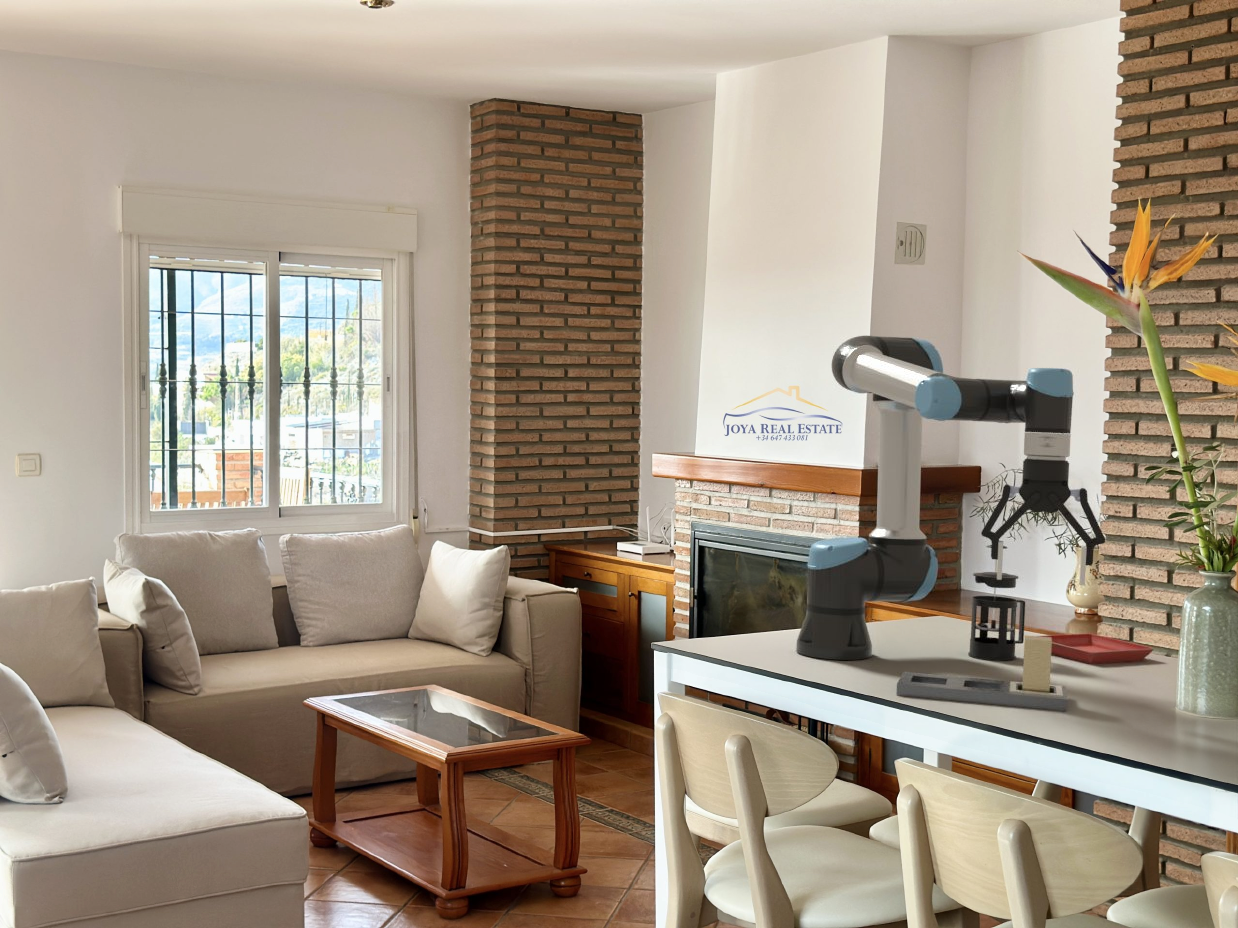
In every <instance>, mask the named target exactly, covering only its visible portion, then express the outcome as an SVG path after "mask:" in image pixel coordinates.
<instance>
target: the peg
mask: <svg viewBox="0 0 1238 928" xmlns="http://www.w3.org/2000/svg"><path fill="white" fill-rule="evenodd" d="M1040 636H1041V635H1026V634H1024V646H1023V647H1024V648H1023V666H1022V667H1023V668H1022V669H1023V670H1022V682H1023V686H1022V691H1033V692H1044V693H1049V689H1050V685H1051V684H1050V683H1051V667H1052V665H1051V663H1052V654H1051V647H1052V638H1051V637H1040Z"/></svg>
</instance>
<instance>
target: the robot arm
mask: <svg viewBox="0 0 1238 928" xmlns="http://www.w3.org/2000/svg"><path fill="white" fill-rule="evenodd" d="M831 372H832V375H833V378H834V380H835V381H836V382H837V383H838V385H839V386H841V387H842V388H844V389H846V390H849V391H851V392H854V393H856V394H872V404H873V405H874V406H875V407H876V408H877V409H878V411H879V423H878V424H879V428H878V463H877V464H878V465H877V497H876V498H877V500H876V502H877V503H876V504H877V507H876V511H877V512H876V527H875V528H874V529H873V530H872V531H871V532H870V533H869V534H868V540H867V539H866V538H863V537H859V536H857V537H856V536H854V537H853V536H848V537H847V536H846V537H842V536H841V537H832V538H826V539H822V540H819V541H818V540H817V541H816V542H814V543H812V544H811V546H810V548H809V553H808V561H807V588H806V589H807V592H806V596H807V597H806V615H805V617H804V620H803V622H802V626H801V628H800V631H799V632H798V633H799V634H798V636H797V639H796V647H795V649H796V650H795V651H796V653H798V654H800V655H803V656H806V657H811V658H818V659H824V660H837V661H839V660H843V661H847V660H848V661H849V660H850V661H854V660H856V661H857V660H864V659H865V660H866V659H869V658H871V657H872V655H873V643H872V640H871V636H870V633H869V630H868V626H867V622H866V619H865V611H866V610H865V609H866V608H865V607H866V603H867V602H869V603H870V602H900V603H907V602H912V601H920V600H922V599H924V598H925V597H926V596H928V594H929V593H930V592H931V591H932V590H933V588H934V586H935V584H936V581H937V579H938V578H937V577H938V570H939V563H938V558H937V557H936V551H935V550H934V549H933V548H932V546H930V545H928V544H927V535H926V534H925V533H924V532H923V531H922V530H921V529H920V511H921V509H920V507H921V478H922V477H921V474H922V469H921V467H922V441H923V439H922V436H923V435H922V432H923V418H924V419H927V420H933V421H938V422H939V421H940V422H945V421H965V422H966V421H969V422H986V423H987V422H988V423H999V424H1002V423H1004V424H1011V423H1013V424H1015V423H1017V424H1020V423H1021V424H1022V423H1023V424H1024V423H1025V424H1024V439H1023V441H1024V442H1023V455H1024V456H1025V457H1026V458H1024V460H1023V462H1022V463H1023V464H1022V479H1021V480H1022V481H1021V485H1020V486H1015V485H1014V486H1013V485H1010V484H1008V483H1006V484H1004V486H1003V487H1002V494H1001V498H1000V500H999V501H998V503H997V505H996V506H995V508H994V510H993V512H992V513H991V515H990V516H989V518H988V520H987V522H986V523H985V526H984V527H983V528H982V530H981V532H980V534H981V536H982V537H983V538H984V537H985V538H986V539H989V540H990V542H991V544H990V545H991V548H990V550H991V551H990V557H991V560H997V579H998V580H1001V579H1002V573H1003V557H1004V549H1003V546H1004V540H1000V539H1001V538H1002V537H1003V536H1004V535H1005V533H1007V532H1008V531H1009V530H1010V529H1011V527H1013V526H1014V525H1015V523H1017V522H1018V520H1019V519H1021V518H1022V516H1024V514H1026V513H1027V511H1028V510H1030V511H1031V512H1034V513H1042V512H1044V513H1047V514H1054V513H1057V512H1060V514H1061V515H1062V516H1063V518H1064V519H1065V520H1066V521H1067V523H1068V524H1069V525H1070V526H1071V528H1072V529H1073V530H1074V531H1075V532H1076V534H1077V536H1079V537H1080V538H1081V540H1082V541H1083V542H1084V544H1085V545H1081V546H1080V547H1081V548H1080V568H1079V585H1080V586H1085V585H1086V567H1087V566H1088V567H1092V566H1093V564H1094V548H1095V547H1096V546H1099V545H1103V544H1105V542H1106V538H1105V536H1104V534H1103V532H1102V529H1101V527H1100V525H1099V523H1098V520H1097V519H1096V516H1095V514H1094V512H1093V510H1092V508H1091V505H1090V504H1089V502H1088V501H1089V500H1088V490H1087V489H1086V488H1084V487H1080V488H1079V489H1070V487H1069V475H1070V474H1069V473H1070V471H1069V470H1070V462H1069V461H1068V460H1067V459H1066V458H1069V457H1070V456H1071V455H1070V453H1071V435H1072V434H1071V432H1072V431H1071V430H1072V416H1073V415H1072V414H1073V413H1072V412H1073V397H1074V394H1075V392H1074V386H1073V385H1074V382H1073V381H1074V380H1073V379H1074V377H1073V376H1074V375H1073V373H1072V371H1071V370H1069V369H1066V368H1057V367H1056V368H1054V367H1037V368H1036V367H1033V368H1030V369H1029V370H1028V371H1027V377H1026V380H1014V379H1013V380H1012V379H1011V380H1009V379H1008V380H1007V379H992V378H991V379H987V378H984V379H983V378H968V377H967V378H965V377H958V376H952V375H949V374H946V373H944V366H943V361H942V357H941V354H940V353H939V351H938V349H937V348H936V346H935V345H934V344H933V343H931V342H930V341H928V340H924V339H919V338H913V337H898V336H897V337H894V336H892V337H891V336H875V335H858V336H855V337H851V338H849V339H847V340H846V341H844V342H842V343H841V344H840V345H839V346H838V347H837V348H836V350H835V352H834V353H833V355H832V360H831ZM1016 494H1019V496H1020V498H1021V499H1022V500H1023V503H1022V504H1021V505H1020V506H1019V507H1018V508H1017V509H1016V510H1015V511H1014V513H1013V514H1012V515H1010V516H1009V518H1007V520H1006V521H1005V522H1003V524H1002V525H1000V526H999V528H998V529H996V531H992V529H993V528H994V526H995V523H996V522H997V521H998V519H999V517H1000V516H1001V513H1002V512H1003V510H1004V508H1005V507H1006V505H1007V503H1008V501H1009V499H1012V498H1014V497H1015V495H1016ZM1070 497H1073V498H1074V500H1075V501H1076V502H1079V503H1080V506H1081V508H1082V510H1083V513H1084V514H1085V517H1086V519H1087V521H1088V523H1089V525H1090V528H1091V530H1092V531H1093V533H1094V536H1095V537H1091V536H1090V535H1089V533H1087V532H1086V530H1085V529H1084V527H1082V525H1081V524H1080V522H1079V521H1077V519H1076V518H1075V516H1074V515H1073V514H1072V513H1071V512H1070V511H1069V509H1068V508H1067V506H1066V505H1065V504H1066V502H1067V501H1068V500H1069V499H1070Z"/></svg>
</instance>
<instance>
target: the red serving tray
mask: <svg viewBox="0 0 1238 928" xmlns="http://www.w3.org/2000/svg"><path fill="white" fill-rule="evenodd" d="M1039 636H1040V637H1051V638H1052V647H1051V656H1052V655H1053V656H1057V657H1061V658H1065V659H1069V660H1073V661H1077V662H1081V663H1086V664H1091V665H1092V664H1093V665H1095V664H1108V663H1110V664H1111V663H1122V662H1124V663H1125V662H1138V661H1139V662H1141V661H1143V660H1144V659H1145V658H1146V657H1148V656H1149V655H1150V654H1151V653H1153V651H1154V649H1155V648H1154V647H1151V646H1146V645H1141V644H1137V643H1133V642H1129V641H1125V640H1121V639H1116V638H1112V637H1107V636H1103V635H1099V634H1093V633H1078V634H1077V633H1075V634H1071V633H1070V634H1055V635H1054V634H1052V635H1039Z"/></svg>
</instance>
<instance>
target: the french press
mask: <svg viewBox="0 0 1238 928" xmlns="http://www.w3.org/2000/svg"><path fill="white" fill-rule="evenodd" d="M991 545H992V544H989V545H986V546H985V547H986V548H990V549H991ZM1008 548H1009V547H1007V546H1005V545H1003V550H1005V549H1008ZM994 560H995V561H994V563H995V564H994V565H995V566H994V571H983V572H974V573H973V574H972V576H973V577H974V580H975V583H976V584H985V585H986V586H987V587H989V588H993V595H975V596H974V595H973V596H972V597H971V625H970V626H971V628H970V638H969V651H968V656H969V657H970V658H973V659H978V660H982V661H993V662H1011V661H1014V660H1016V659H1017V656H1016V644H1023V643H1024V642H1025V616H1026V601H1025V600H1023V599H1016V598H1012V597H1006V596H996V595H997V588H999V589H1014V588H1016V587H1017V586H1016V585H1017V580H1018V579H1019V576H1018V575H1015V574H1010V573H1005V572H1002V579H1001V580H998V579H997V564H998V560H996V559H994ZM1018 603H1019V620H1018V621H1019V622H1018V640H1016V620H1017V618H1016V617H1017V607H1018ZM977 607H980V617H979V618H980V619H979V622H977ZM990 609H992V611H993V612H992V619H991V621H990V622H989V614H990V613H989V612H990ZM996 609H999V615H998V616H999V618H998V623H997V621H996V619H995V617H996ZM1009 609H1010V610H1011V611H1010V624H1008V620H1009V619H1008V617H1009ZM976 630H978V631H979V636H976V632H977V631H976ZM988 632H992V633H993V632H995V633H998V637H991V636H988V634H989V633H988ZM1008 633H1010V634H1009V639H1007V637H1008V636H1007V635H1008Z"/></svg>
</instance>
